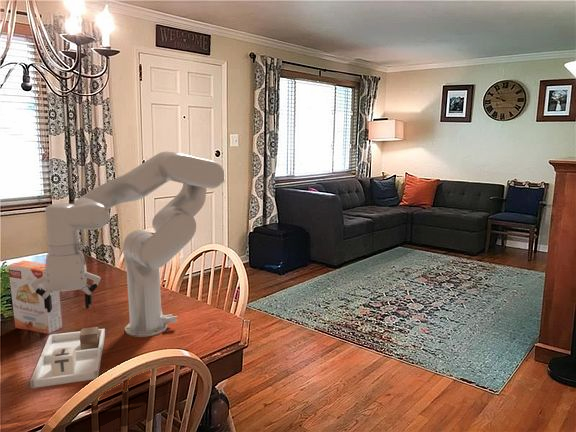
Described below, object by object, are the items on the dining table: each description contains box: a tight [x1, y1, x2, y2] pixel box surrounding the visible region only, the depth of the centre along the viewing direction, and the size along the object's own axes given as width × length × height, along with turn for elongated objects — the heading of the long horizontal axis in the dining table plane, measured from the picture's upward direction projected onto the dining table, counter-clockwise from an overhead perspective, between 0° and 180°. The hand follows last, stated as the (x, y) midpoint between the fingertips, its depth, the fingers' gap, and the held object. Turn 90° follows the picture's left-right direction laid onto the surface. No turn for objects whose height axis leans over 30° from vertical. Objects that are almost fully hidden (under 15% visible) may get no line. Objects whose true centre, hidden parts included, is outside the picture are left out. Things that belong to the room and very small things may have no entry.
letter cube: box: [50, 347, 76, 377], centre depth 118 cm, size 5×5×5 cm
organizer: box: [29, 328, 106, 389], centre depth 125 cm, size 15×26×2 cm, turn 18°
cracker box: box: [7, 260, 64, 335], centre depth 142 cm, size 14×6×21 cm, turn 69°
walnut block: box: [80, 326, 100, 350], centre depth 132 cm, size 4×4×4 cm
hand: (69, 308), depth 128 cm, fingers open, 9 cm apart
